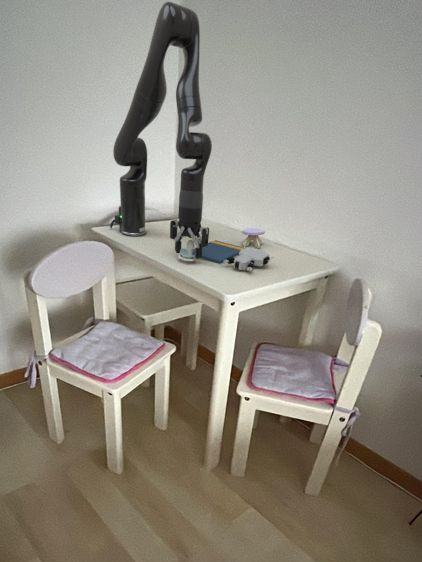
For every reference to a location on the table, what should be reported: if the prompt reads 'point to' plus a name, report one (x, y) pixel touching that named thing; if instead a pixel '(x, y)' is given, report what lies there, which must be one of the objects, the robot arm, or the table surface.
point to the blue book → (218, 251)
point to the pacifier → (188, 255)
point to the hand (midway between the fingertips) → (187, 255)
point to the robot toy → (249, 259)
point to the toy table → (253, 236)
